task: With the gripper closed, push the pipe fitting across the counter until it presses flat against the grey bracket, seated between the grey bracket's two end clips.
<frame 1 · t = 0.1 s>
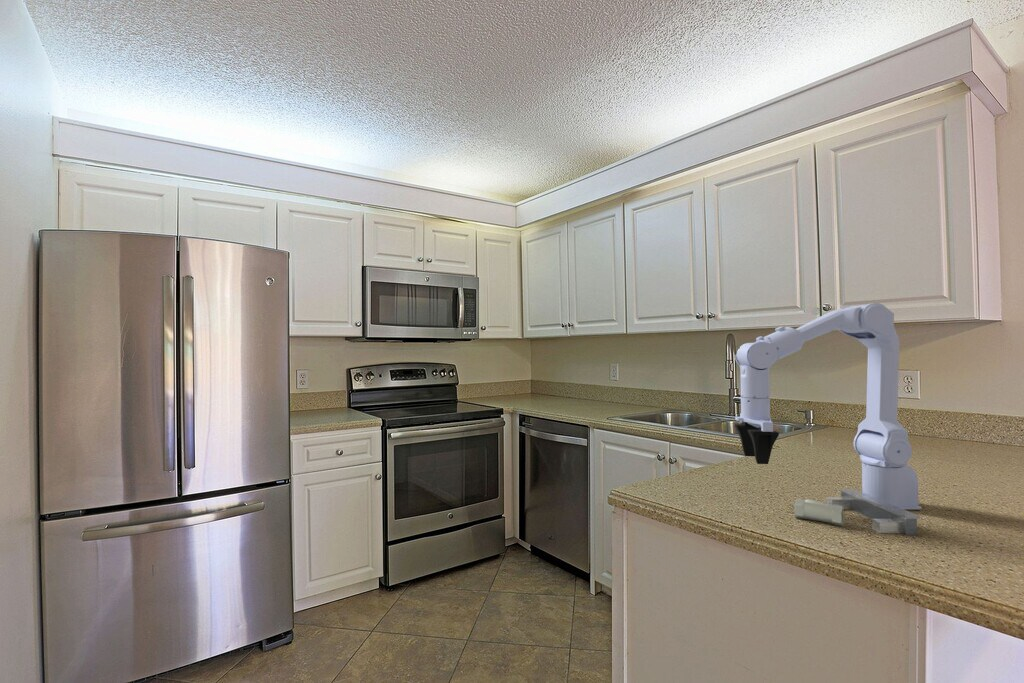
hand: (755, 459, 108), 10 cm above the countertop, tool pointing down, fingers open, 7 cm apart
pipe fitting: (820, 521, 100), on the countertop
grey bracket: (875, 518, 100), on the countertop
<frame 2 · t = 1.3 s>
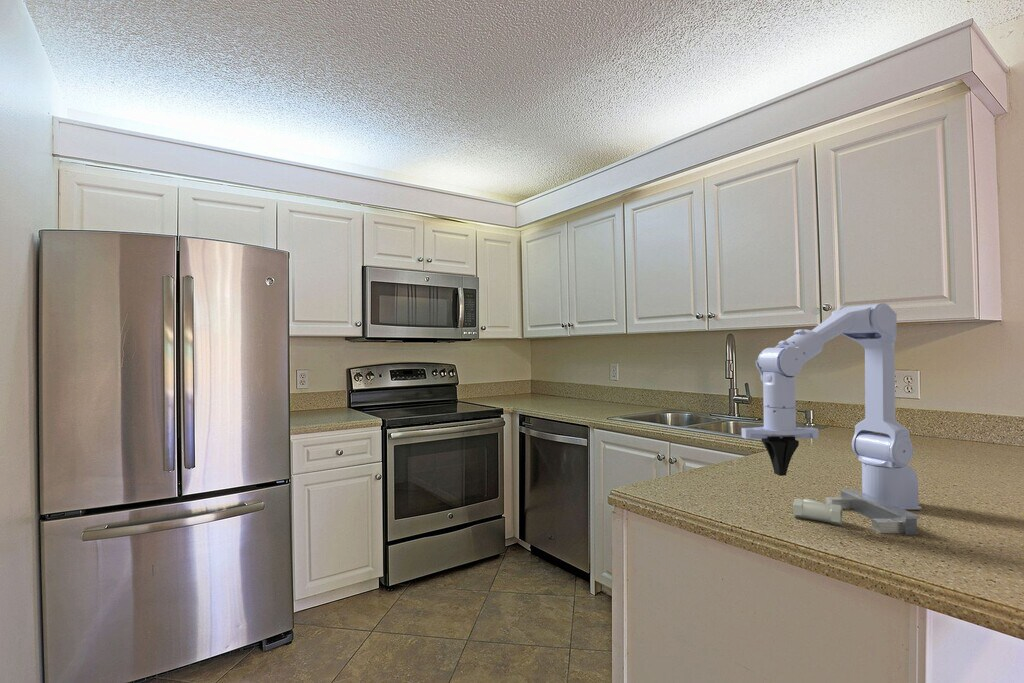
hand: (780, 474, 100), 9 cm above the countertop, tool pointing down, fingers closed
nothing on the countertop moved.
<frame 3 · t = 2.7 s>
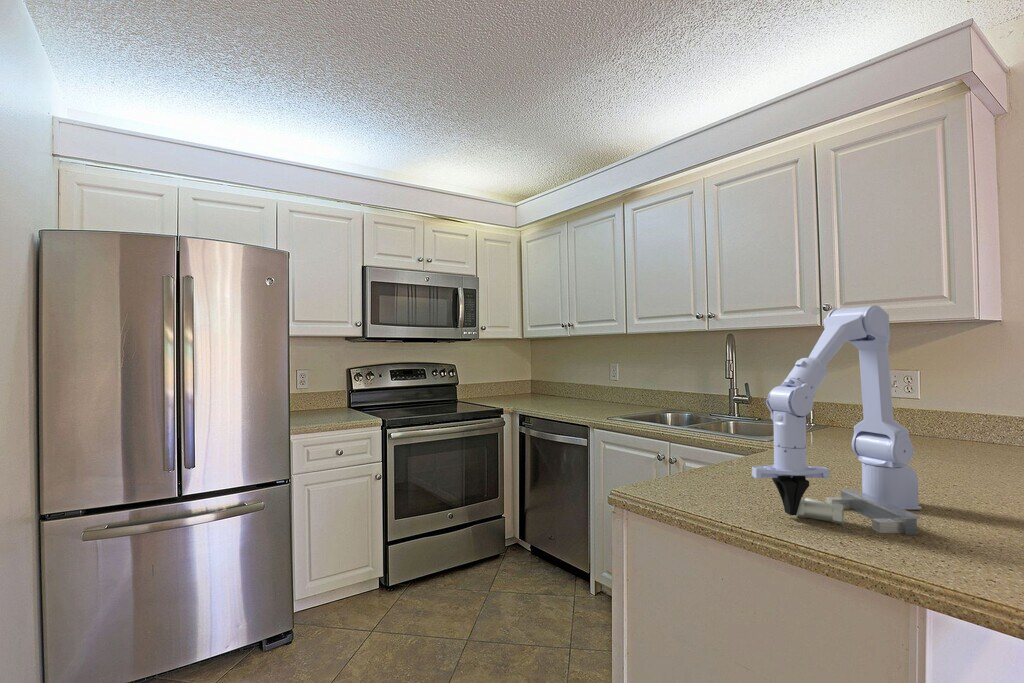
hand: (790, 513, 100), 1 cm above the countertop, tool pointing down, fingers closed
pipe fitting: (820, 519, 100), on the countertop, touching gripper
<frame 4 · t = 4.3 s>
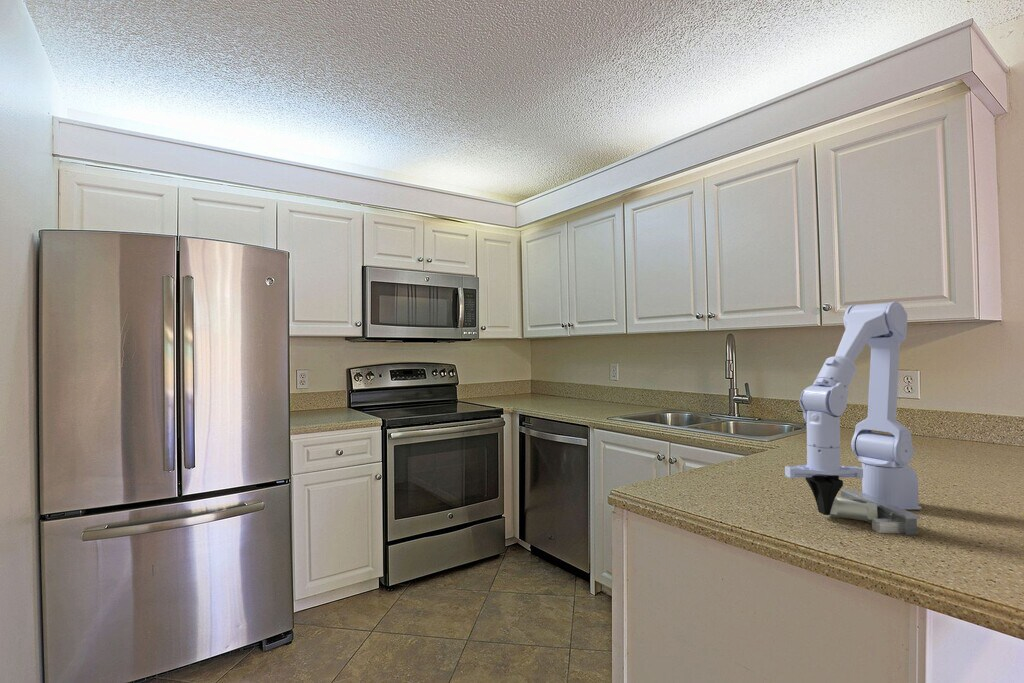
hand: (824, 513, 100), 1 cm above the countertop, tool pointing down, fingers closed
pipe fitting: (851, 518, 100), on the countertop, touching gripper, grey bracket
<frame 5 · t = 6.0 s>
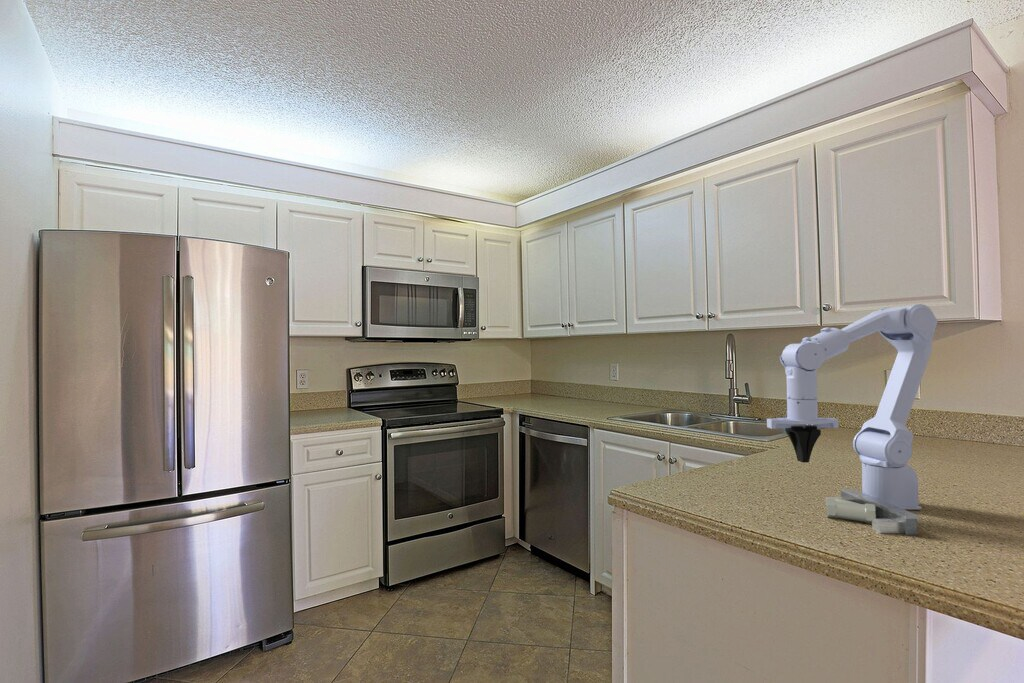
hand: (803, 461, 107), 10 cm above the countertop, tool pointing down, fingers closed
pipe fitting: (850, 519, 101), on the countertop
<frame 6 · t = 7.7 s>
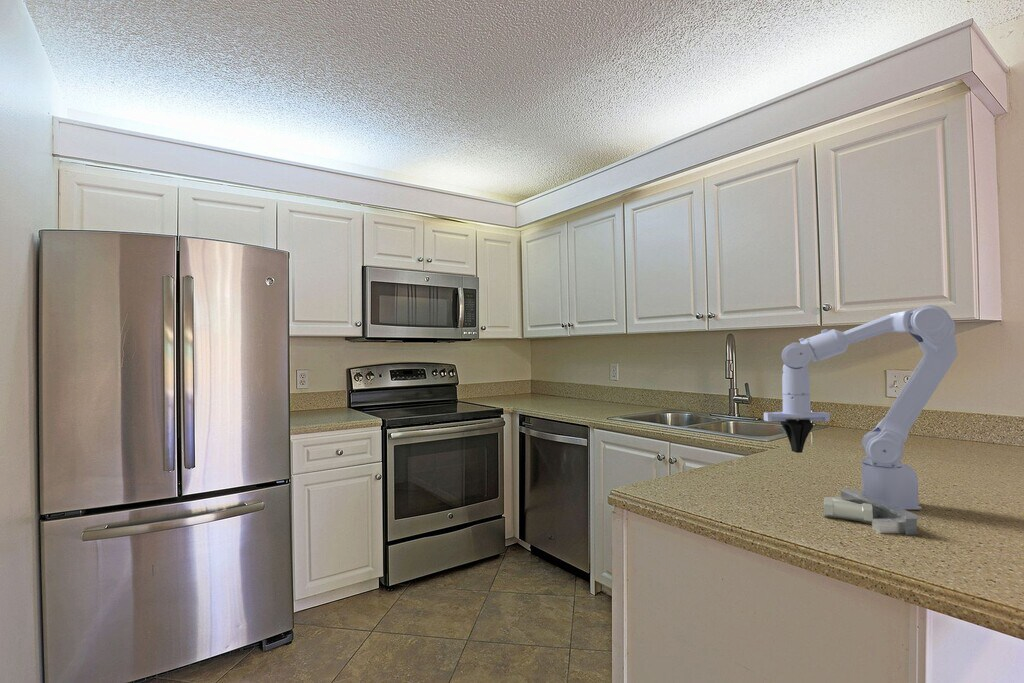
hand: (797, 451, 117), 10 cm above the countertop, tool pointing down, fingers closed
nothing on the countertop moved.
at the end: pipe fitting inside the target area (1.0 cm from its centre), on the countertop; pipe fitting moved 6.1 cm from its start; the gripper is holding nothing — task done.
